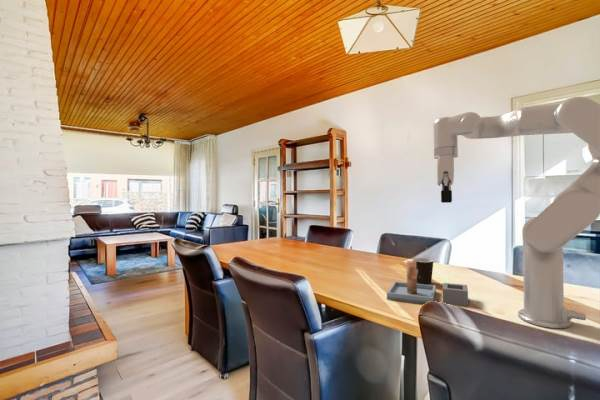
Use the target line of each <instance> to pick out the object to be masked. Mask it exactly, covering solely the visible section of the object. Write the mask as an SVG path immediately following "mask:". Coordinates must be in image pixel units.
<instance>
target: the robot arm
mask: <svg viewBox="0 0 600 400" xmlns="http://www.w3.org/2000/svg"><path fill="white" fill-rule="evenodd" d="M552 134H553V135H554V134H555V135H556V134H557V135H558V134H573V135H574V136H576V137H578V138H579V139H581V140H582V141H584V142H585V143H587V147H588V151H589V153H590V155H591V159H592V161H591V162H590V163H591V164H590V165H589V167H588V168H587V169H586V170H585V171H584V172H583V173H582V174H581V175H580V176H579V177H578V178H577V179H576V180H574V182H572V183H571V184H570V185H569V186H568V187H566V188H565V189H564V190H563V191H561V192H560V193H558V194H557V195H556V196H555V198H554V199H553V201H552V202H551V203H550V204H549V205H548V206H547V207H546V208H545V209H544V210H542V211H541V212H540V213H538V215H537V216H533V217H530V219H528V220H527V221H525V222H524V224H523V226H522V231H521V232H522V252H523V253H522V255H523V256H522V258H523V261H522V262H523V270H522V271H523V274H522V275H523V309H520V310H518V311H517V315H518V316H517V317H519V318H520V319H521V320H523V321H525V322H527V323H530V324H531V325H535V326H538V327H545V328H551V329H566V328H569V327H571V326H572V319H574V320H575V319H576V320H581V321H586V319H587V316H586V313H584V312H578V311H577V310H573V309H572V310H571V309H567V308H566V307H565V306H564V305H565V301H564V299H565V298H564V295H565V292H564V291H565V290H564V252H563V248H564V247H565V245H567V244H569V242H571V241H572V240H573V239H574V238H576V237H577V236H578V235H580V234H581V233H582V232H583V231H584V230H586V229H587V228H588V227H589V226H591V224H593V223H594V222H595V221H596V220H597V219H598V217H599V216H600V103H599V102H597V101H595V100H593V99H591V98H588V97H584V96H575V97H570V98H568V99H565V100H564V101H563V102H561V103H556V104H546V105H545V104H544V105H534V106H524V107H520V108H516V109H514V110H512V111H510V112H507V113H504V114H500V115H495V116H494V115H493V116H482V117H481V116H480V114H478V113H476V112H473V111H469V112H467V111H466V112H464V113H460V114H457V115H453V116H445V117H440V118H436V119H435V120H434V122H433V158H434V159H437V161H436V170H437V171H436V174H437V176H436V177H437V179H436V180H437V186H441V190H440V202H441V203H446V204H447V203H452V202H453V190H452V185H454V179H455V178H454V177H455V159H456V158H458V157H459V151H458V149H459V148H458V136H463V137H464V138H466V139H470V140H477V139H478V140H479V139H481V140H482V139H497V138H498V139H499V138H508V137H509V138H511V137H512V138H513V137H519V136H537V135H538V136H539V135H552Z"/></svg>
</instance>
